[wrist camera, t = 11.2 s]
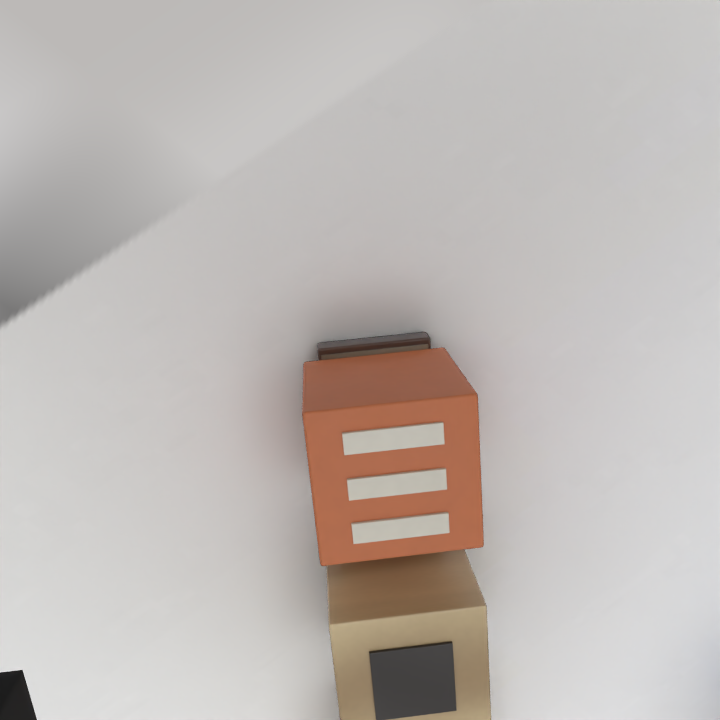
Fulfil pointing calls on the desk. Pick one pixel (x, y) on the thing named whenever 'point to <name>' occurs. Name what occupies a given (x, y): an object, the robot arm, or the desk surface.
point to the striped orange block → (392, 456)
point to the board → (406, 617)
